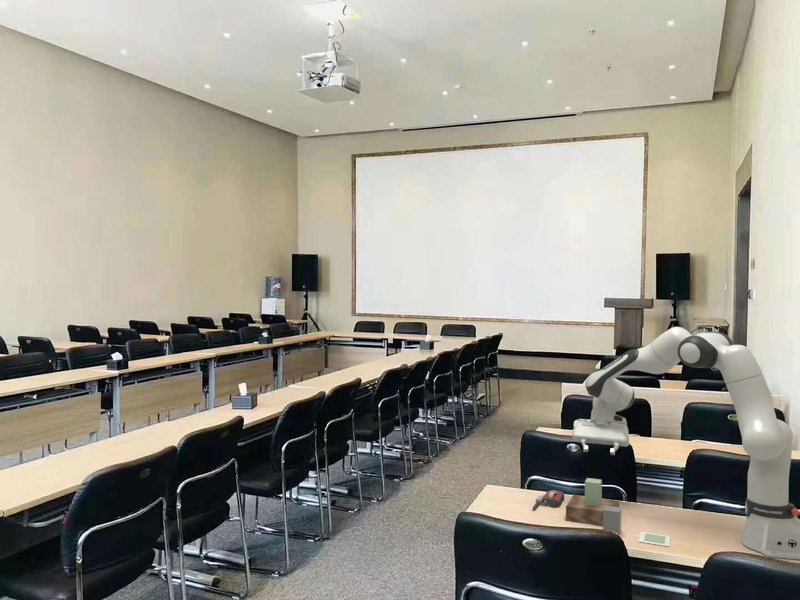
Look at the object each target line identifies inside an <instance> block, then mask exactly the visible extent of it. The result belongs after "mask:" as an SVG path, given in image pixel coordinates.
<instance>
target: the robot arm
mask: <svg viewBox="0 0 800 600" xmlns="http://www.w3.org/2000/svg"><path fill="white" fill-rule="evenodd" d="M680 362H682V364H683V365H685V366H687V367H690V368H696V369H712V368H716V369H718V370H719V372H720V373H721V376H722V379H723V381H724V383H725V385H726V389H727V390H728V393H729V396H730V398H731V401H732V404H733V406H734V410H735V414H736V419H737V423H738V428H739V431H740V435H741V441H742V443H741V445H742V448H743V450H744V452H745V453H746V454H747V455H748V457H750V461H749V466H748V471H747V497H746V498H745V504H744V505H745V509H744V511H745V515H746V519H745V520H746V522H745V526H744V531H743V534H742V538H741V539H740V542H741V543H742V544H743V546H745V547H747V548H749V549H751V550H753V551H756V552H757V553H758V552H759V553H760V554H762V555H765V556H767V557H768V558H769V557H770V558H779V559H787V560H788V559H789V560H790V559H791V560H800V518H798V517H799V516H800V511H799V509H798V508H797V506H795V505H794V504H793V503H791V502H789V487H790V486H789V481H790V479H789V478H790V470H791V462H792V451H793V439H794V434H793V430H792V428H791V427H790V426H789V424H788V423H786V422H785V421H783V420H781V419H779V418H777V415H776V412H775V406H774V401H773V397H772V393H771V392H770V391H771V390H770V388H769V386H768V384H767V381H766V379H765V376H764V374H763V372H762V369H761V367H760V365H759V363H758V361H757V360H756V358H755V356H754V354H753V353H752V351H751V350H750V349H749V347H747V346H745V345H743V344H734V342H733V339H732V338H731V337H729V335H727V334H725V333H723V332H720V331H709V332H701V333H696V334H694V335H693V334H692V333H690V332H689V331H688V330H687V329H686V328H683V327H681V326H674V327H671V328H669V329H667V330H666V331H664V332H663V333H661V334H659V336H657V337H655V339H654V340H653V341H652V342H650V343H649V344H647V345H644V346H642V347H640V348H634V349H630V350H627V351H626V352H624V353H623V354H621V355H620V356H618V357H617V358H615V359H614V360H612V361H611V362H609V363H607V364H606V365H605V366H603V367H602V368H599V369H597V370H595V371H594V372H591V373H590V374H589V375H588V377H587V378H586V380H585V384H584V385H585V388H586V391H587V394H588V395H589V396H591V397H593V398H592V410H591V411H590V413H591V415H590V419H586V418H584V419H583V418H578V419H576V420H574V422H573V431H572V439H573V440H574V441H575V442H580V443H581V445H582V447H583V453H584V452H585V453H588V452H589V446H588V445H586V444H587V443H589V444H599V445H606V446H608V445H609V446H613V447H612V448H610V451H609V452H610V453H609V454H610V455H611V456H615V455H616V451H618V449H619V448H620V447H628V446H630V434H629V428H628V422H627V419H626V417H624V416H621V415H618V414H616V412H623V411H625V410H627V409H629V408H630V407H632V405H633V403H634V401H635V390H634V387H632V386H630V385H629V384H627V383H626V382H623V381H621V380H619V379H617V377H618V376H620V375H622V374H623V373H625V372H627V371H639V372H644V373H648V374H652V375H653V374H654V375H661V374H665V373H667V372H669V371H671V370H673V368H674V367H675V366H677V365H678V364H679V363H680Z"/></svg>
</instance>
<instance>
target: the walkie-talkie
mask: <svg viewBox="0 0 800 600" xmlns="http://www.w3.org/2000/svg"><path fill="white" fill-rule="evenodd" d="M564 500H565V493H564V492H563V491H560V490H554V489H550V490H548V491H547V492H545V494H544V495H543V494H542V495H538V497H537V498H535V504H534V505H533V506H532V510H534V511H535V510H536V509H537V507H538V506H542V507H549V508H557V509H558V508H560V506H561V505H562V503H563V502H564Z"/></svg>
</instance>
